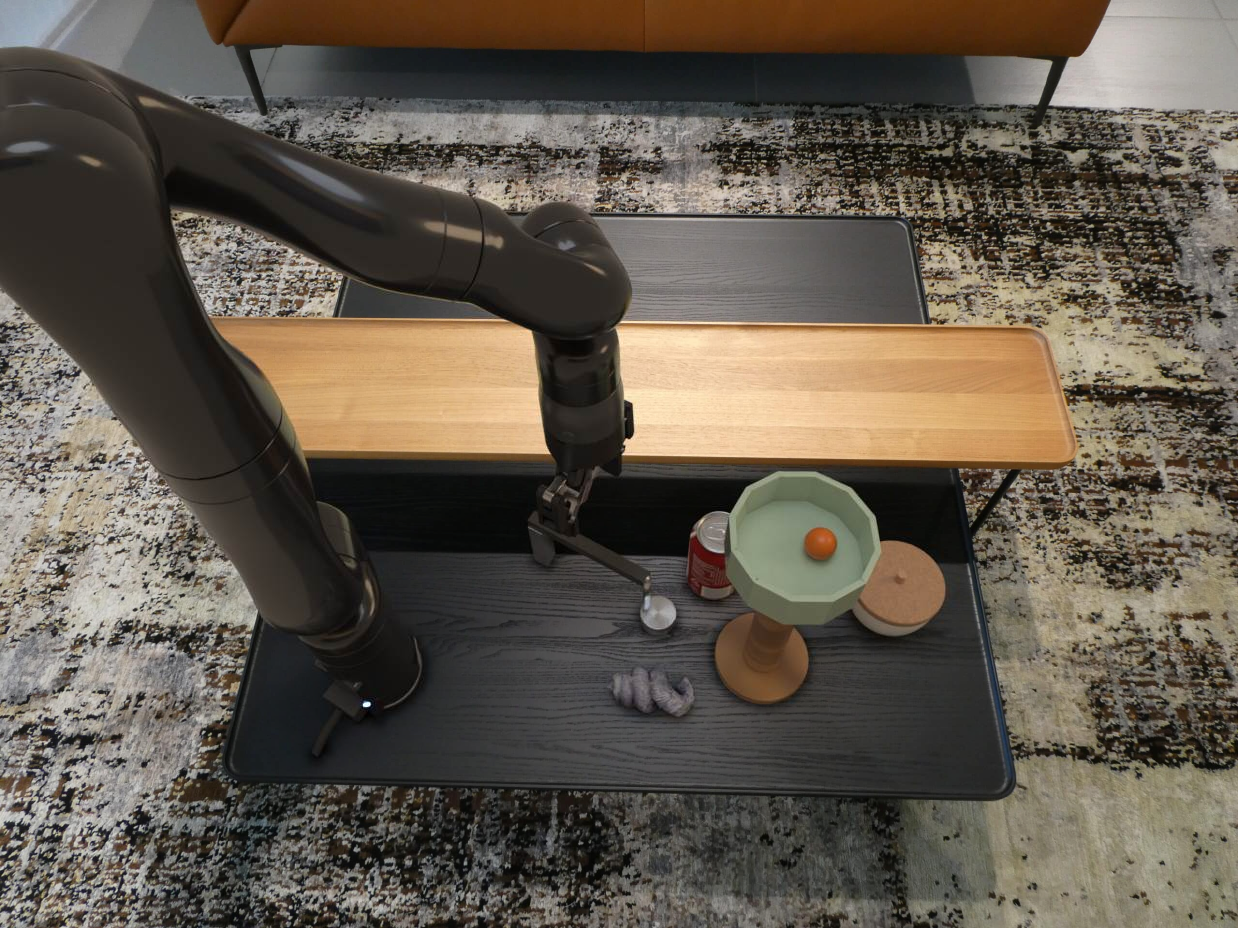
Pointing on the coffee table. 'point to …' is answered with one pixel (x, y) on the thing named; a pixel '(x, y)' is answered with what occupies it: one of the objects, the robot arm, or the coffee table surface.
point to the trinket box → (900, 591)
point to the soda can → (709, 557)
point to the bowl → (799, 547)
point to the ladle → (654, 610)
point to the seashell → (652, 691)
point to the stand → (761, 658)
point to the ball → (820, 543)
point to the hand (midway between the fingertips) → (590, 500)
